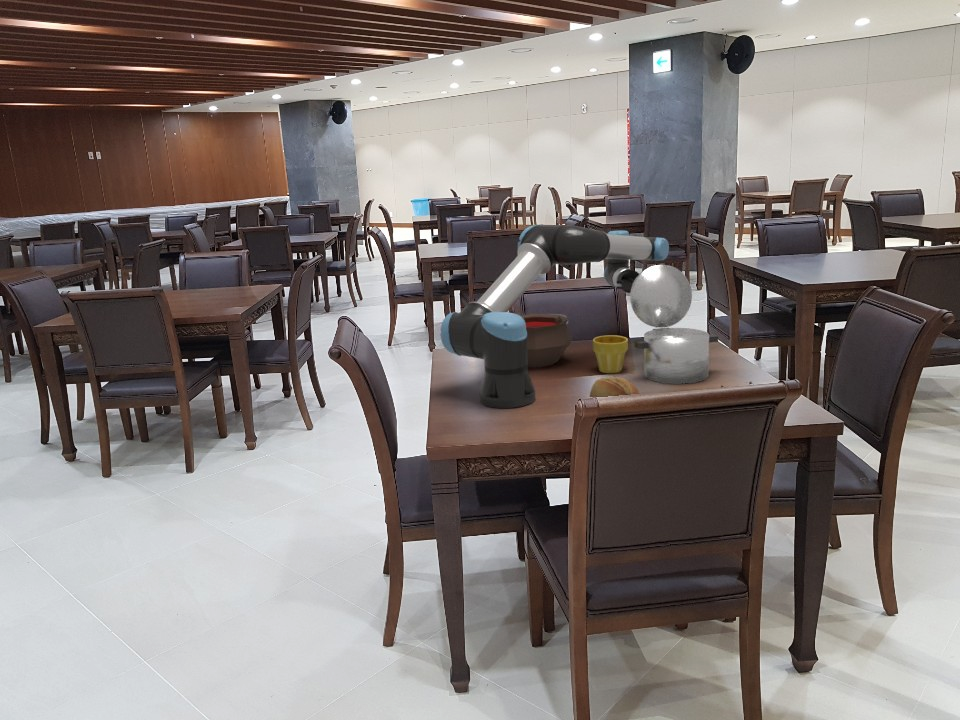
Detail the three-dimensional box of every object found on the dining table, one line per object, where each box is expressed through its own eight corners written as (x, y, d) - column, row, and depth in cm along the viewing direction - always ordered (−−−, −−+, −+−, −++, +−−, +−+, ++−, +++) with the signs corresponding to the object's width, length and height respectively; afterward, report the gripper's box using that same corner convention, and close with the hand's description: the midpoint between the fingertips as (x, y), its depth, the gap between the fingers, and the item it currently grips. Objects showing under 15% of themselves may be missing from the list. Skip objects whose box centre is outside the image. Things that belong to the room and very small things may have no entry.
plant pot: (627, 375, 214) (627, 343, 212) (592, 375, 216) (591, 343, 214) (628, 365, 224) (628, 334, 221) (594, 365, 226) (593, 335, 223)
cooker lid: (630, 267, 214) (625, 267, 218) (634, 330, 216) (629, 329, 219) (690, 262, 217) (685, 263, 220) (693, 324, 218) (688, 324, 222)
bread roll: (625, 419, 179) (625, 388, 177) (580, 406, 190) (579, 376, 188) (650, 409, 184) (650, 379, 182) (604, 397, 196) (604, 368, 194)
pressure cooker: (647, 387, 201) (647, 345, 198) (622, 368, 221) (622, 330, 218) (729, 379, 204) (730, 337, 201) (697, 361, 224) (698, 323, 221)
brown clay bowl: (483, 363, 236) (480, 314, 232) (535, 348, 251) (533, 302, 247) (536, 376, 218) (534, 323, 214) (588, 359, 234) (587, 309, 229)
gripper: (645, 289, 247) (674, 301, 224) (608, 292, 245) (633, 304, 223) (645, 267, 245) (674, 277, 222) (608, 270, 243) (633, 280, 221)
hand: (653, 291), depth 222 cm, fingers closed
